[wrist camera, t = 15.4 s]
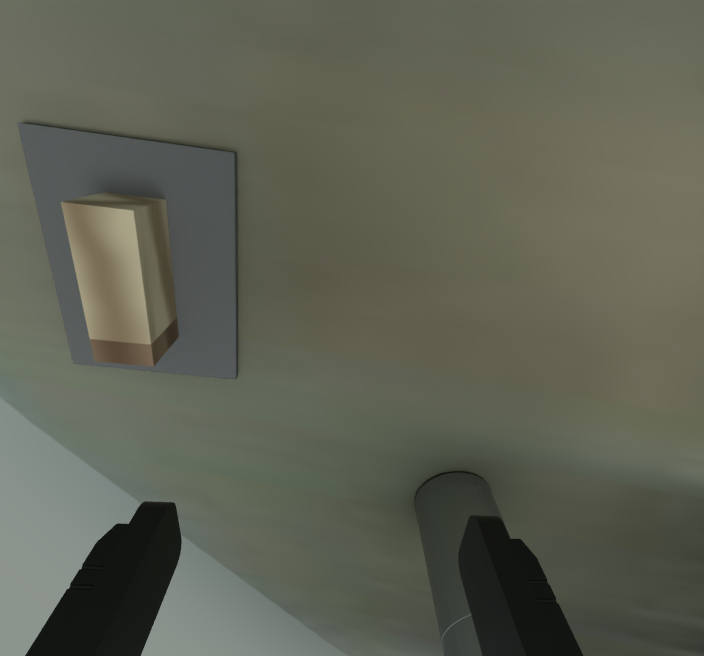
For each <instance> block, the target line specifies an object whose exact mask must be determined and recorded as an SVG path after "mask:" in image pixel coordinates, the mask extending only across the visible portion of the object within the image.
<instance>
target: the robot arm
mask: <svg viewBox="0 0 704 656" xmlns="http://www.w3.org/2000/svg"><path fill="white" fill-rule="evenodd" d="M415 509H416V514H417V519H418V524H419V529H420V534H421V540H422V545H423V550H424V555H425V561H426V566H427V571H428V576H429V581H430V586H431V591H432V597H433V602H434V607H435V612H436V617H437V622H438V627H439V632H440V638H441V643H442V647H443V652H444V656H583V654H582V652H581V650H580V648H579V646H578V644H577V641H576V639H575V637H574V635H573V633H572V631H571V629H570V627H569V625H568V623H567V620H566V618H565V616H564V614H563V612H562V610H561V608H560V606H559V604H557V602H556V597H555V595H554V593H553V591H552V589H551V587H550V585H548V583H547V578H546V576H545V574H544V572H543V570H542V568H541V566H540V564H539V562H538V559H537V558H536V557H535V555H534V554H533V553H532V552H531V551H530V550H529V548H528V547H527V546H526V545H525V544H524V543H523V541H522V540H521V539H511V538H510V536H509V533H508V531H507V528H506V526H505V524H504V521H503V519H502V516H501V514H500V511H499V509H498V507H497V504H496V502H495V499H494V497H493V495H492V492H491V490H490V488H489V486H488V484H487V483H486V482H485V481H484V480H483V479H481V478H479V477H478V476H475V475H472V474H469V473H448V474H444V475H440V476H437V477H435V478H433V479H431V480H430V481H428V482H427V483H425V484H424V485H423V486H422V487H421V488H420V489H419V491H418V493H417V494H416V498H415ZM180 551H181V534H180V528H179V522H178V516H177V510H176V505H175V503H172V502H143V503H142V504H141V505H140V506H139V508H138V509H137V511H136V513H135V515H134V516H133V518H132V520H131V521H130V523H129V524H116V525H115V526H114V527H113V528H112V529H111V530H110V531H108V532H107V533H106V534H105V535H104V536H103V537H102V538H101V539H100V540H99V541H98V542H97V543H96V544H95V546H94V547H93V549H92V550H91V552H90V554H89V555H88V557H87V558H86V560H85V562H84V563H83V566H82V569H81V570H79V571H78V573H77V574H76V576H75V578H74V579H73V581H72V582H71V584H70V588H69V589H67V590H66V592H65V593H64V595H63V597H62V598H61V600H60V602H59V603H58V605H57V606H56V608H55V609H54V611H53V613H52V614H51V616H50V617H49V619H48V620H47V622H46V624H45V625H44V627H43V628H42V630H41V632H40V633H39V635H38V637H37V638H36V640H35V641H34V643H33V644H32V646H31V648H30V649H29V651H28V652H27V654H26V655H25V656H141V653H142V651H143V648H144V646H145V643H146V641H147V638H148V636H149V633H150V631H151V628H152V626H153V624H154V621H155V619H156V616H157V614H158V611H159V608H160V606H161V603H162V601H163V599H164V596H165V593H166V591H167V589H168V586H169V584H170V581H171V579H172V576H173V574H174V571H175V568H176V566H177V563H178V560H179V556H180Z"/></svg>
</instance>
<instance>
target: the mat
mask: <svg viewBox="0 0 704 656" xmlns="http://www.w3.org/2000/svg"><path fill="white" fill-rule="evenodd" d="M17 124H18V128H19V132H20V137H21V141H22V145H23V150H24V154H25V158H26V162H27V167H28V171H29V175H30V180H31V184H32V188H33V192H34V197H35V201H36V205H37V210H38V214H39V218H40V222H41V227H42V231H43V235H44V240H45V244H46V248H47V252H48V257H49V261H50V265H51V270H52V274H53V278H54V282H55V287H56V291H57V295H58V300H59V304H60V308H61V312H62V317H63V321H64V325H65V329H66V334H67V338H68V342H69V347H70V351H71V355H72V359H73V364H80V365H91V366H101V367H112V368H122V369H133V370H143V371H154V372H164V373H175V374H185V375H196V376H206V377H217V378H227V379H237V376H238V335H237V165H236V153H235V152H228V151H221V150H214V149H207V148H200V147H193V146H185V145H178V144H171V143H164V142H157V141H150V140H142V139H135V138H128V137H121V136H114V135H107V134H99V133H92V132H85V131H78V130H71V129H64V128H57V127H49V126H42V125H35V124H28V123H17ZM103 192H108V193H116V194H124V195H133V196H141V197H149V198H157V199H165V200H166V204H167V215H168V226H169V237H170V248H171V259H172V269H173V280H174V291H175V302H176V313H177V324H178V334H179V337H178V338H177V340H176V341H175V342H174V343H173V344H172V346H171V347H170V348H169V349H168V350H167V352H166V353H165V354H164V355H163V356H162V358H161V359H160V360H159V361H158V362H157V364H156V365H155V366H154V367H152V366H141V365H130V364H119V363H108V362H97V361H94V357H93V352H92V347H91V342H90V338H89V333H88V328H87V324H86V319H85V314H84V309H83V305H82V300H81V295H80V290H79V286H78V281H77V276H76V272H75V267H74V262H73V257H72V253H71V248H70V243H69V239H68V234H67V229H66V224H65V220H64V215H63V210H62V206H61V202H63V201H67V200H72V199H76V198H81V197H85V196H90V195H94V194H99V193H103Z"/></svg>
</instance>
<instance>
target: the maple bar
mask: <svg viewBox="0 0 704 656" xmlns="http://www.w3.org/2000/svg"><path fill="white" fill-rule="evenodd" d="M61 206H62V210H63V215H64V220H65V224H66V229H67V234H68V239H69V243H70V248H71V253H72V257H73V262H74V267H75V272H76V276H77V281H78V286H79V290H80V295H81V300H82V305H83V309H84V314H85V319H86V324H87V328H88V333H89V338H90V342H91V347H92V352H93V357H94V361H97V362H108V363H119V364H130V365H141V366H152V367H154V366H155V365H156V364H157V362H158V361H159V360H160V359H161V358H162V356H163V355H164V354H165V353H166V352H167V350H168V349H169V348H170V347H171V346H172V344H173V343H174V342H175V341H176V340H177V338H178V337H179V334H178V324H177V313H176V302H175V291H174V280H173V269H172V259H171V248H170V237H169V226H168V215H167V204H166V200H165V199H157V198H149V197H141V196H133V195H124V194H116V193H108V192H103V193H99V194H94V195H90V196H85V197H81V198H76V199H72V200H67V201H63V202H61Z"/></svg>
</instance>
